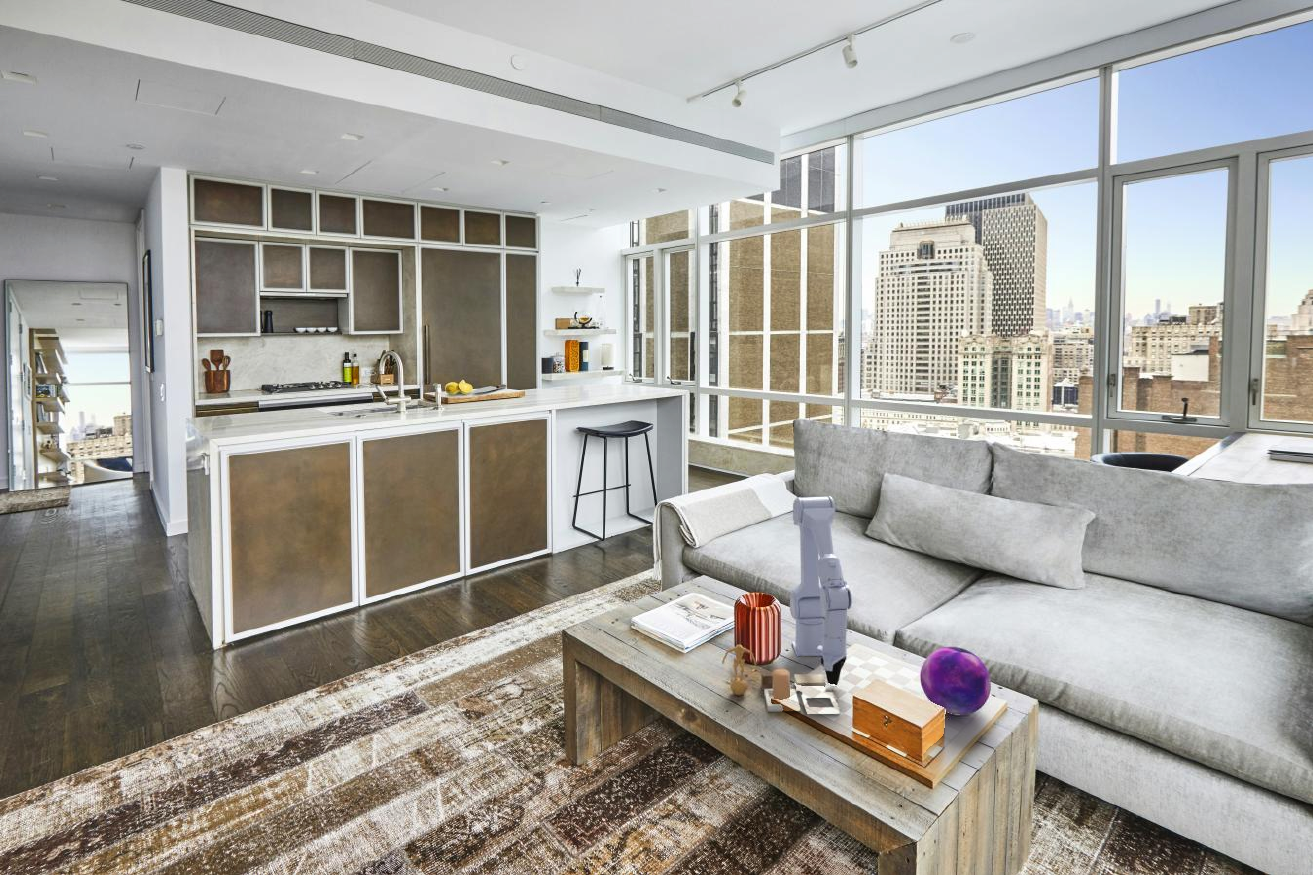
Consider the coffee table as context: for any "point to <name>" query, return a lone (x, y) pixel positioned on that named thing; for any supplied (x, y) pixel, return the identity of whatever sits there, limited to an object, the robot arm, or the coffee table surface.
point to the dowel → (781, 684)
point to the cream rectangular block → (809, 680)
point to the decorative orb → (955, 680)
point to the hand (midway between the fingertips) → (832, 684)
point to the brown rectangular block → (767, 680)
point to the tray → (770, 707)
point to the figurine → (738, 683)
